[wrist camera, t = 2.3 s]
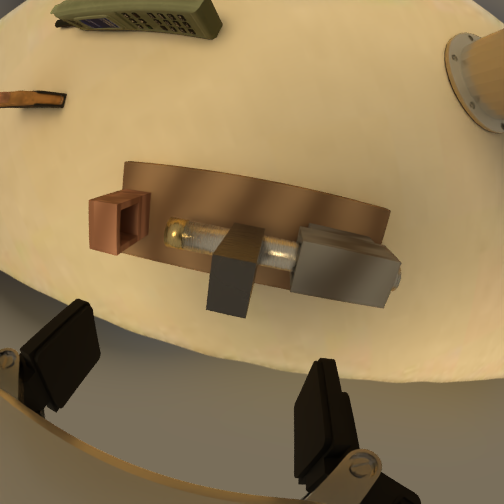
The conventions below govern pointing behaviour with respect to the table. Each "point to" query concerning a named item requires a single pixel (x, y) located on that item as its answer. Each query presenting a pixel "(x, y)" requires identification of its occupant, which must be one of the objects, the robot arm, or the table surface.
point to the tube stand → (254, 214)
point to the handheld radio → (141, 16)
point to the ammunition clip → (31, 99)
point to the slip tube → (234, 259)
